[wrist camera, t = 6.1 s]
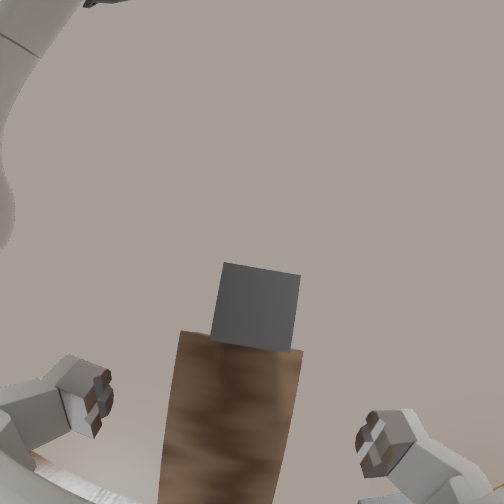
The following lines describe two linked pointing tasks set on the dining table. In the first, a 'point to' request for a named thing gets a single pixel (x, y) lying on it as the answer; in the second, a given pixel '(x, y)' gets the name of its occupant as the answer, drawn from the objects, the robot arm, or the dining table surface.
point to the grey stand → (387, 500)
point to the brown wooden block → (226, 422)
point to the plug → (255, 308)
